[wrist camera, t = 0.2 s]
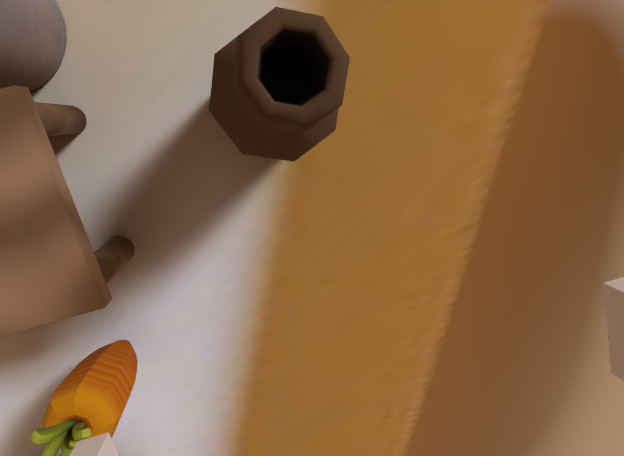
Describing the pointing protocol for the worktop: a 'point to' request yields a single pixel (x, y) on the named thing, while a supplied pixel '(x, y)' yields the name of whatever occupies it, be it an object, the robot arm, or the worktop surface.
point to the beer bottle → (280, 84)
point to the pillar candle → (30, 42)
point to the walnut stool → (45, 222)
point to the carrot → (89, 399)
